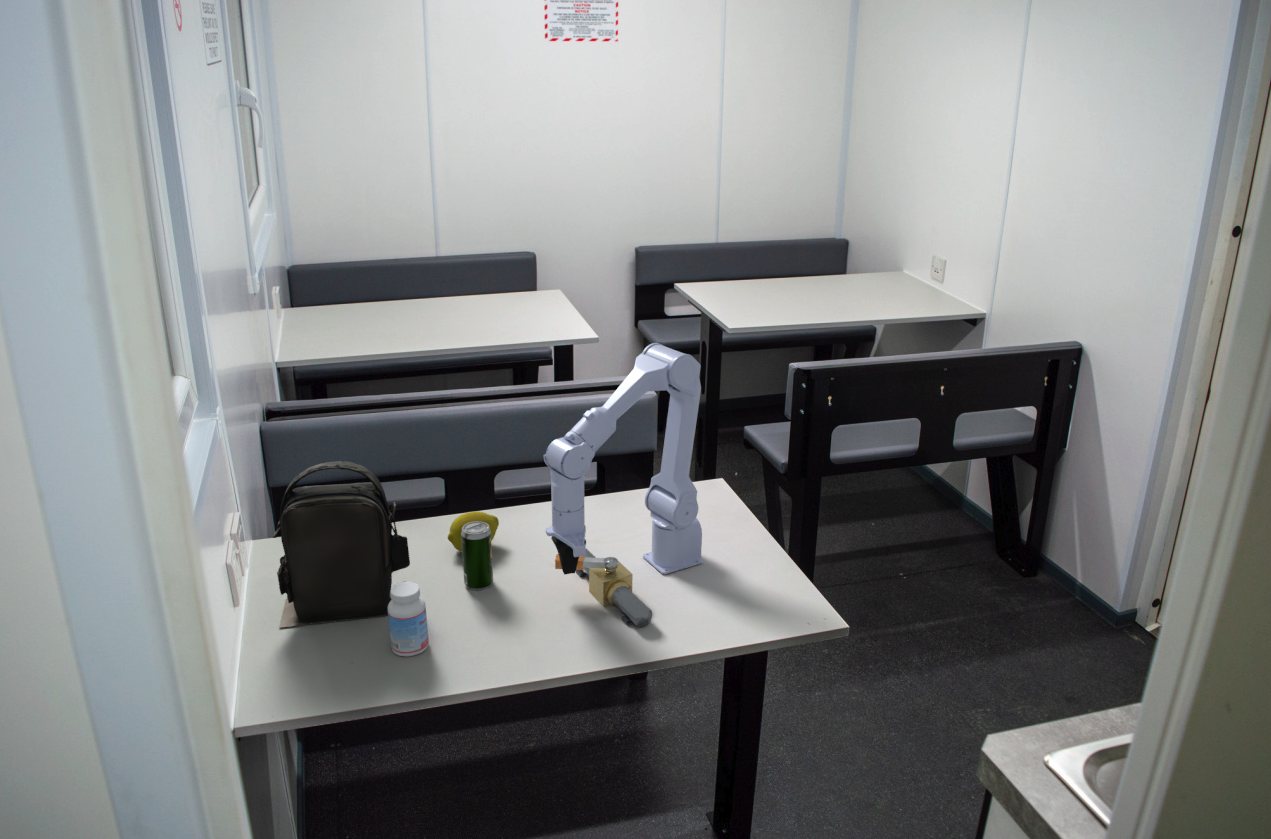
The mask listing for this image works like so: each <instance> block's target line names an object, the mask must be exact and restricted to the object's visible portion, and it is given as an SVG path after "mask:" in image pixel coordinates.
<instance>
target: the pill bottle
mask: <svg viewBox="0 0 1271 839" xmlns="http://www.w3.org/2000/svg"><path fill="white" fill-rule="evenodd" d="M390 592H391V599H392V600H391V601H390V602H389V604H388V616H387V617H388V618H387V619H388V627H389V635H390V646H391V650H392V652H393V653H394V654H395V655H397V656H400V657H412V656H416V655H419V654H421V653H423V652H424V651H426V649H427V648H428V647H429V644H430V641H429V629H428V619H427V618H428V617H427V607H426V606H427V605H426V602H425V599H424V598H423V597H422V596H421V589H420V586H419V584H417V583H416V582H413V581H403V582H399V583H396V584H395V585H393V586H391V591H390Z"/></svg>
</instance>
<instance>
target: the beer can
mask: <svg viewBox="0 0 1271 839" xmlns="http://www.w3.org/2000/svg"><path fill="white" fill-rule="evenodd" d="M461 540H462V552H461V554H462V566H463V567H462V568H463V582H464V585H465V588H467V589H468V590H469V591H471V592H481V591H485V590H488V589H489V588H491V587H492V584H493V582H494V572H493V550H492V549H493V548H492V541H491V531H490V529H489V525H488V524H487V523H484V522H479V521H477V522H470V523H467V524H465V525H464V526H463V527H462V532H461Z"/></svg>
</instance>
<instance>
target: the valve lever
mask: <svg viewBox="0 0 1271 839" xmlns="http://www.w3.org/2000/svg"><path fill="white" fill-rule="evenodd" d="M618 561H619V560H618V558H616V557H614V556H607V557H596V558H587V557H584V556H580V557H579V559H578V563H577V568H576V570H583V568H605V571H606V572H610V573H611V572H615V571H616V568H617V567H618ZM554 567H555V570H556V569H557V570H562V567H561V563H560V558H559V554H558V553H556V555H555V563H554Z"/></svg>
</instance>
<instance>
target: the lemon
mask: <svg viewBox="0 0 1271 839" xmlns="http://www.w3.org/2000/svg"><path fill="white" fill-rule="evenodd" d="M477 521H479V522H484V523H487V524H488V525H489V529H490V531H491V542H492V541H493V539H494V538H495V536H496V533H497V530H498V527H499V525H500V521H499V518H498V517H497V516H496V515H493V514H489V513H487V512H483V511H468V512H464V513H462V514H460V515H459V516H457V517H455V518H454V520H453V521H452V523H451V525H450V527H449V533H448V535H447V539H448V541H449V542H450V543H451V544H452V546H453V548H454V549H456V550H457V551H459V552H460V553H462V540H461V532H462V527H463V526H464V525H465V524H467V523H470V522H477Z"/></svg>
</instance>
